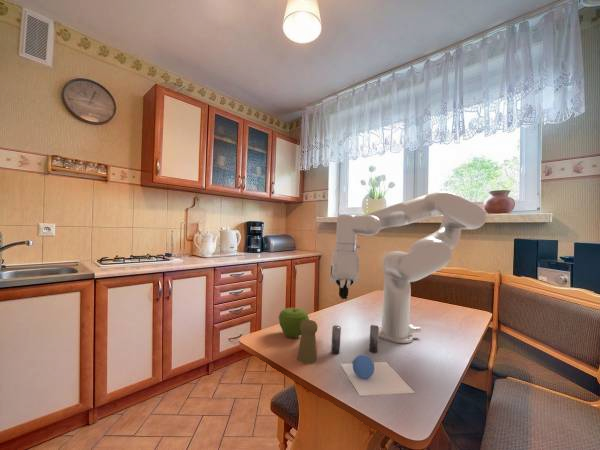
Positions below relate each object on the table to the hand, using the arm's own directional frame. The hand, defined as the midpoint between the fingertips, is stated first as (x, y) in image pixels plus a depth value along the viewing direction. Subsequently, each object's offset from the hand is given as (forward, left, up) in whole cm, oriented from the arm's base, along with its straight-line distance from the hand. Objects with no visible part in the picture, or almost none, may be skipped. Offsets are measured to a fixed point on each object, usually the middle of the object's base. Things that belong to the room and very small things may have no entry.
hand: (343, 297), depth 95 cm
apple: (+18, 0, -14) cm, 23 cm away
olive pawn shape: (+16, +16, -14) cm, 27 cm away
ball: (+3, +26, -11) cm, 29 cm away
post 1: (+6, +13, -14) cm, 20 cm away
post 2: (-6, +13, -14) cm, 20 cm away
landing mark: (0, +27, -14) cm, 30 cm away
